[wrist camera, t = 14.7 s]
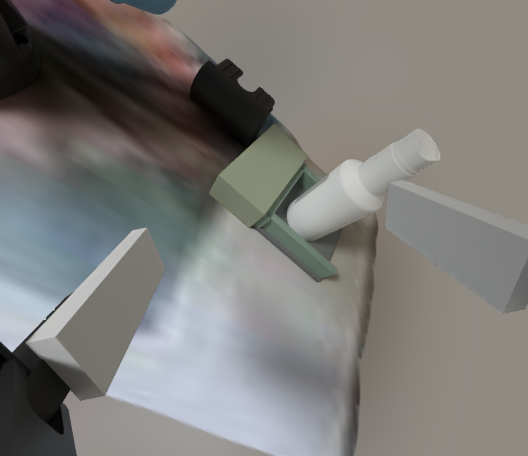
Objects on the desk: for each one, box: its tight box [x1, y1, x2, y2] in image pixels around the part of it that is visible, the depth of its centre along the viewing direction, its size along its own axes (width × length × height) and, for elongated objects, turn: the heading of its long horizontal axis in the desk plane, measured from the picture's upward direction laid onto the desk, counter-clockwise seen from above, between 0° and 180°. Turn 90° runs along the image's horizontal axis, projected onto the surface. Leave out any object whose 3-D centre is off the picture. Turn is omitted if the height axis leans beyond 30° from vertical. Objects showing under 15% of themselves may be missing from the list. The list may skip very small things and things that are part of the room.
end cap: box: [190, 59, 275, 145], centre depth 32 cm, size 10×7×7 cm
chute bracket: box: [209, 123, 343, 282], centre depth 33 cm, size 20×14×4 cm
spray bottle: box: [287, 129, 440, 241], centre depth 27 cm, size 7×7×18 cm
